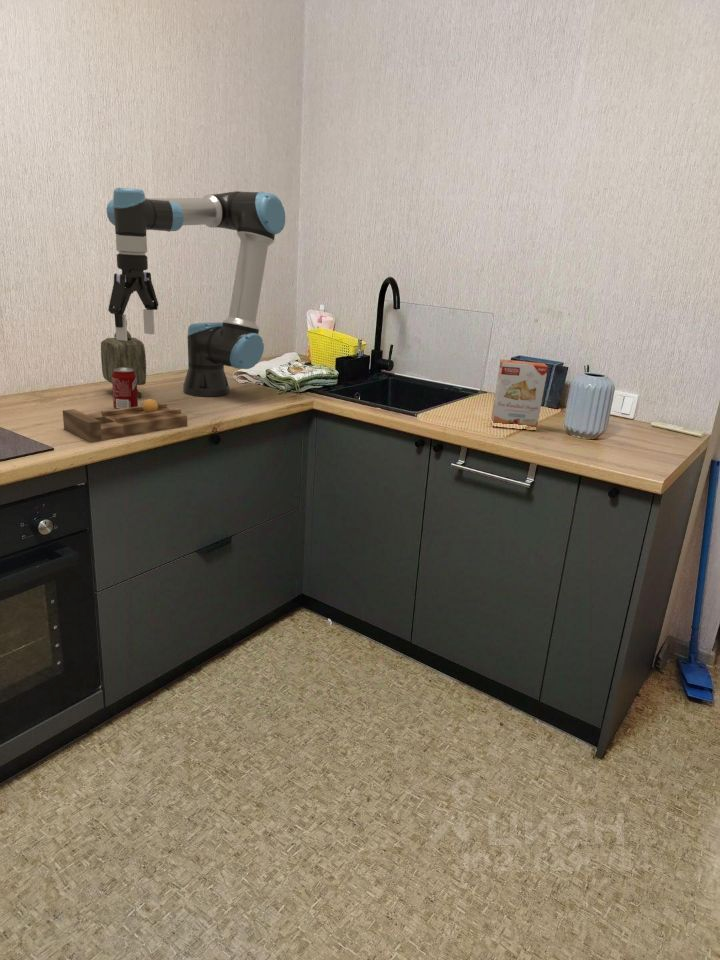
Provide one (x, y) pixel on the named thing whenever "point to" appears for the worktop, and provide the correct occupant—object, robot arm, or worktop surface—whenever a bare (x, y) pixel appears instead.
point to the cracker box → (519, 392)
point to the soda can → (124, 388)
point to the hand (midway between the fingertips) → (136, 336)
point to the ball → (150, 405)
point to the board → (122, 422)
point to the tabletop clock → (124, 357)
